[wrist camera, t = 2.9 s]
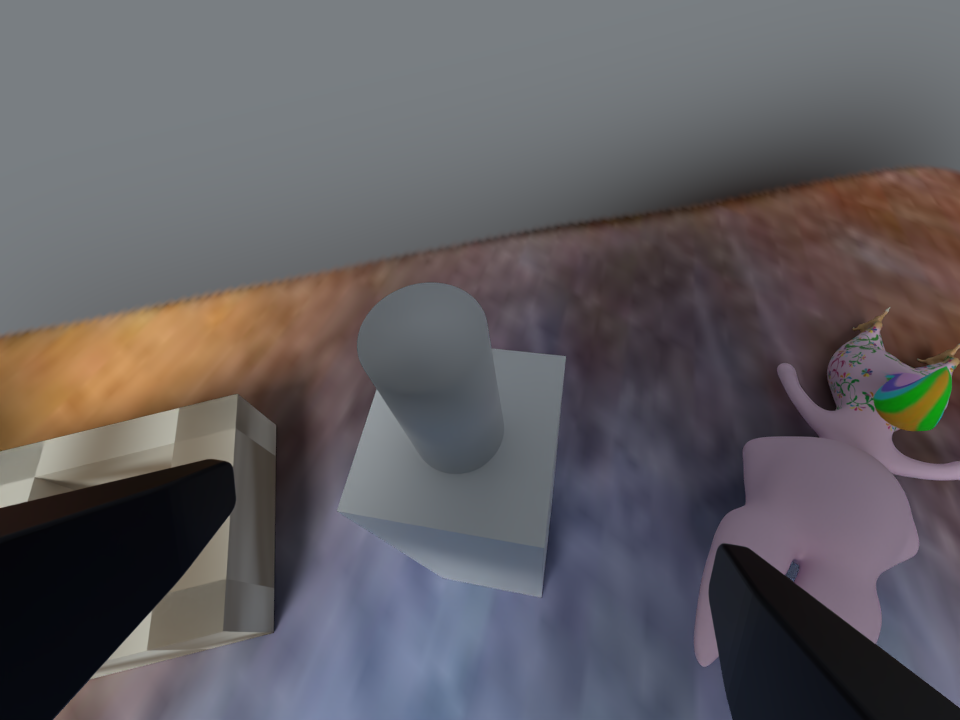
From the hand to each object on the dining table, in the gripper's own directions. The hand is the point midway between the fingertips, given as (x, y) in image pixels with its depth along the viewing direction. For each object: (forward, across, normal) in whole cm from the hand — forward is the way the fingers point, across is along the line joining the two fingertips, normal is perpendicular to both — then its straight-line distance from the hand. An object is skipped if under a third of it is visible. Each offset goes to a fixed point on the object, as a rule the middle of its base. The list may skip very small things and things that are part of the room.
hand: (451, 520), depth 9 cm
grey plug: (+7, 0, +5) cm, 9 cm away
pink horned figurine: (+10, -10, +3) cm, 15 cm away
